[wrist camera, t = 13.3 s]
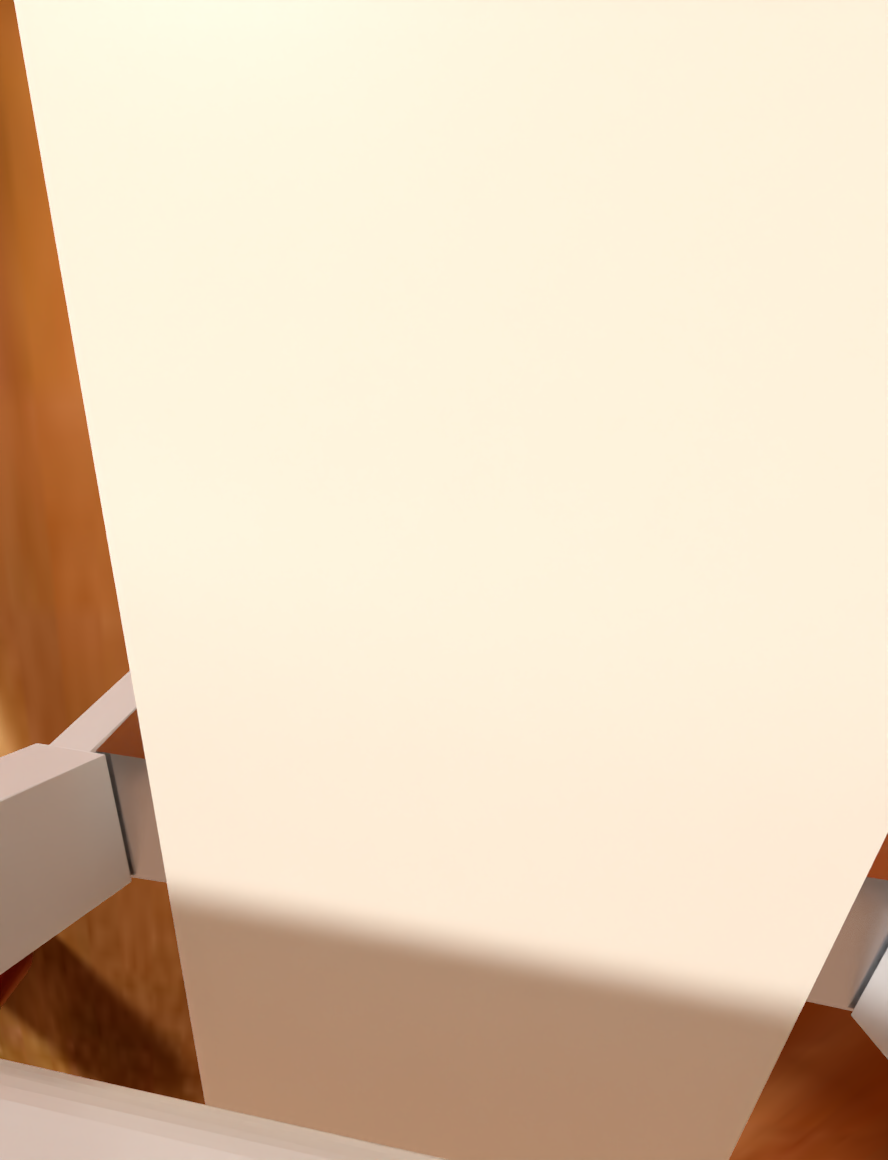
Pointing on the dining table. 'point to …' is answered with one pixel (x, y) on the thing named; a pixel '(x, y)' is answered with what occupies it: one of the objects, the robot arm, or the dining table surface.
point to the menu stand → (490, 535)
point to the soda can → (13, 977)
